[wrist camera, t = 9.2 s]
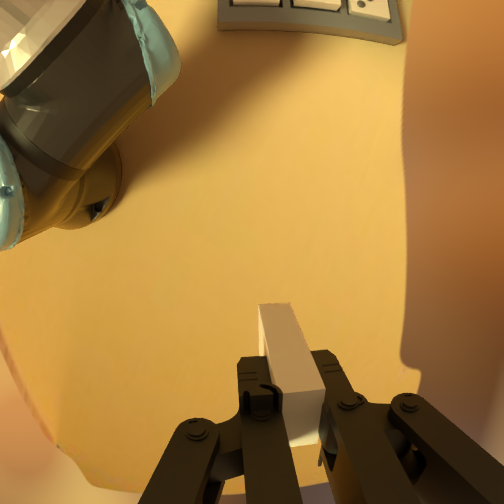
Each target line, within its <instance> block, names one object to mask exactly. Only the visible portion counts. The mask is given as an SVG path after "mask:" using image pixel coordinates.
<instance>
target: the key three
mask: <svg viewBox="0 0 504 504" xmlns="http://www.w3.org/2000/svg"><path fill="white" fill-rule="evenodd" d="M346 6H347V14H348V15H351V16H357V17H362V18H368V19H373V20H377V21H382V22H387V21H388V20H390V13H389V7H388V2H387V0H346Z"/></svg>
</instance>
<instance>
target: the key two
mask: <svg viewBox="0 0 504 504" xmlns="http://www.w3.org/2000/svg"><path fill="white" fill-rule="evenodd" d="M293 1H294V6H302V7H312V8H321V9H328V10H335V11H337V10H338V9H339V7H340V6H341V0H293Z"/></svg>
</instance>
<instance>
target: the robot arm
mask: <svg viewBox="0 0 504 504" xmlns="http://www.w3.org/2000/svg"><path fill="white" fill-rule="evenodd" d="M180 69H181V59H180V55H179V52H178V50H177V47H176V45H175V43H174V41H173V39H172V37H171V35H170V33H169V31H168V30H167V28H166V27H165V25H164V23H163V22H162V20H161V19H160V17H159V16H158V14H157V13H156V12H155V10H154V9H153V8H152V7H151V6H149V5H147V2H146V0H0V93H1V94H3V95H4V97H3V98H2V100H1V101H0V251H3V250H8V249H11V248H13V247H14V246H15V245H16V244H18V243H20V242H22V241H24V240H26V239H28V238H30V237H32V236H34V235H36V234H38V233H41V232H43V231H45V230H47V229H49V228H51V227H56V228H61V229H68V230H71V229H79V228H82V227H85V226H88V225H89V224H91V223H93V222H95V221H97V220H99V219H100V218H101V217H102V216H104V215H105V214H106V213H107V211H108V210H109V209H110V208H111V206H112V205H113V203H114V201H115V199H116V197H117V195H118V192H119V188H120V184H121V176H122V168H121V160H120V156H119V153H118V150H117V148H116V146H115V144H114V141H115V139H116V138H117V137H118V136H119V135H120V134H121V133H122V132H123V131H124V130H125V129H126V128H127V127H128V126H129V125H130V124H131V123H132V122H133V121H134V120H135V119H136V118H137V117H138V116H139V115H140V114H141V113H142V112H143V111H145V110H146V109H147V108H151V107H152V106H154V104H155V102H156V100H157V99H158V98H159V97H160V96H161V95H162V94H163V93H164V92H165V91H166V90H167V89H168V88H169V87H170V86H171V85H172V84H173V83H174V82H175V81H176V80H177V78H178V76H179V73H180ZM258 309H259V354H260V356H253V357H241V359H240V361H239V362H238V364H237V375H238V392H239V410H238V412H237V414H236V415H235V416H234V417H233V418H231V419H229V420H228V421H225V422H222V423H218V424H215V423H213V422H212V421H210V420H207V419H204V418H192V419H188V420H185V421H184V422H182V423H180V424H179V426H178V427H177V428H176V430H175V432H174V434H173V436H172V438H171V439H170V441H169V443H168V445H167V447H166V449H165V451H164V453H163V455H162V457H161V459H160V461H159V463H158V465H157V467H156V469H155V471H154V473H153V475H152V477H151V479H150V481H149V483H148V485H147V487H146V489H145V490H144V492H143V494H142V496H141V498H140V500H139V502H138V504H218V503H219V500H220V497H221V494H222V490H223V487H224V484H225V480H228V479H231V478H234V477H237V476H241V475H244V479H245V491H246V503H247V504H303V502H302V497H301V493H300V489H299V484H298V480H297V475H296V471H295V467H294V462H293V458H292V453H291V449H290V447H294V446H302V445H310V444H317V442H318V436H320V440H321V443H322V444H321V450H320V455H319V460H318V466H321V465H322V461H323V464H324V467H325V470H326V474H327V477H328V480H329V484H330V487H331V490H332V493H333V496H334V500H335V503H336V504H504V466H503V465H502V464H501V463H499V462H498V461H497V460H496V459H495V458H494V457H492V456H491V455H490V454H489V453H488V452H486V451H485V450H484V449H483V448H481V446H479V445H478V444H477V443H476V442H474V441H473V440H472V439H471V438H470V437H469V436H467V435H466V434H465V433H464V432H463V431H461V430H460V429H459V428H458V427H457V426H456V425H454V424H453V423H452V422H451V421H450V420H448V419H447V418H446V417H445V416H444V415H443V414H441V413H440V412H439V411H438V410H437V409H435V408H434V407H433V406H432V405H430V403H428V402H427V401H426V400H425V399H424V398H422V397H420V396H419V395H417V394H413V393H402V394H398V395H397V396H395V397H394V398H393V399H392V401H391V404H377V403H370V402H368V401H367V399H366V398H365V397H364V396H363V395H361V394H359V393H357V392H354V390H353V388H352V386H351V384H350V382H349V381H348V379H347V377H346V375H345V373H344V371H343V369H342V367H341V365H339V362H338V360H337V358H336V356H335V355H334V354H333V353H331V352H330V351H328V350H318V351H310V350H309V347H308V345H307V343H306V340H305V338H304V335H303V333H302V331H301V328H300V326H299V324H298V321H297V319H296V317H295V314H294V312H293V310H292V307H291V305H290V303H273V304H258Z"/></svg>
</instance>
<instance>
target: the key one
mask: <svg viewBox="0 0 504 504" xmlns="http://www.w3.org/2000/svg"><path fill="white" fill-rule="evenodd" d="M279 3H280V0H233V7H235V6H253V7H278V6H279Z"/></svg>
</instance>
